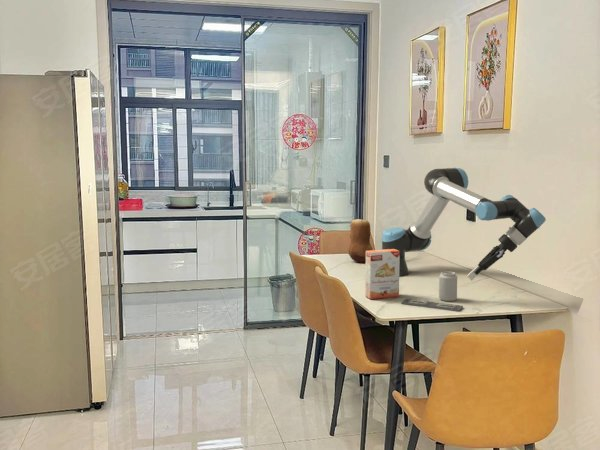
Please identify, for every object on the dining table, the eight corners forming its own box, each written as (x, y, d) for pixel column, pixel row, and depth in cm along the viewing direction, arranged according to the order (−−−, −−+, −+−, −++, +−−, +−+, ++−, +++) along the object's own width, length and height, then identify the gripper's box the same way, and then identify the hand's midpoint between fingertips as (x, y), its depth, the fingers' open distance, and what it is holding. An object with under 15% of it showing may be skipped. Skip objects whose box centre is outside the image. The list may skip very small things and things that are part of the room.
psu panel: (406, 300, 239) (407, 298, 239) (463, 307, 226) (463, 305, 226) (401, 303, 234) (401, 301, 234) (458, 311, 221) (458, 309, 221)
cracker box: (370, 300, 241) (370, 252, 238) (365, 296, 247) (364, 250, 244) (400, 297, 245) (400, 250, 242) (393, 293, 251) (394, 248, 248)
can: (458, 298, 240) (459, 271, 238) (454, 303, 234) (454, 275, 232) (441, 296, 244) (442, 269, 242) (436, 300, 237) (436, 273, 236)
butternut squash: (372, 259, 327) (372, 217, 324) (373, 264, 314) (372, 220, 311) (348, 259, 329) (348, 217, 325) (348, 264, 316) (347, 220, 312)
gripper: (502, 231, 237) (461, 268, 242) (507, 235, 224) (464, 275, 229) (515, 243, 236) (474, 281, 242) (521, 248, 223) (477, 288, 229)
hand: (469, 278), depth 236 cm, fingers closed
